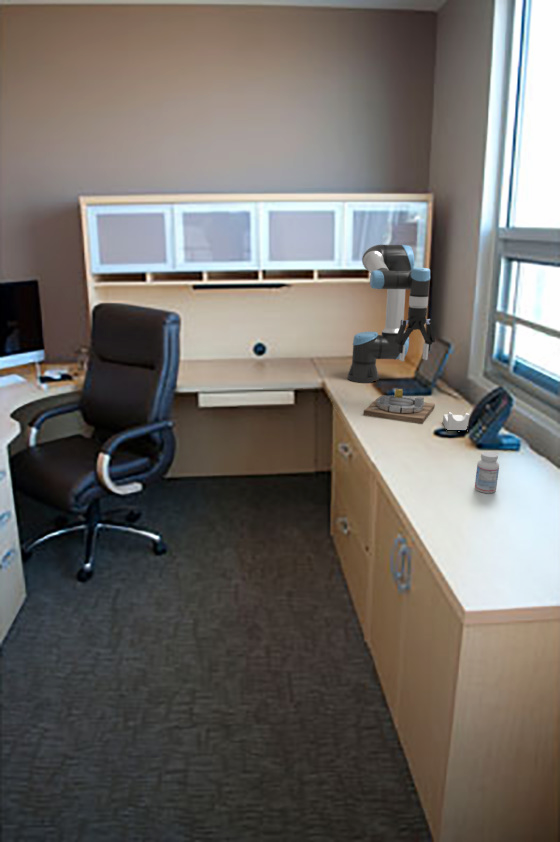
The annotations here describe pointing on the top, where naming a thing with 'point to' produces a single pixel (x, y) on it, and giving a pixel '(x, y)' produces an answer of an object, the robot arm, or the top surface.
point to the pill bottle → (487, 473)
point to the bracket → (455, 421)
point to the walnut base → (410, 417)
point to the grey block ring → (416, 407)
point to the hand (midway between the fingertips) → (413, 359)
